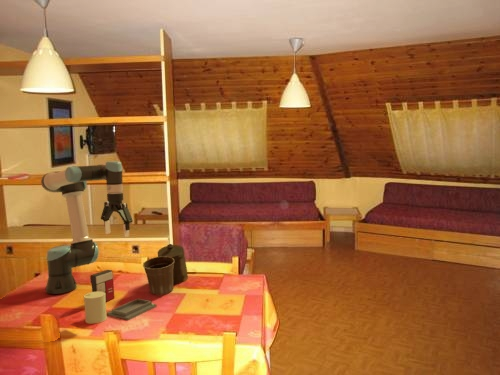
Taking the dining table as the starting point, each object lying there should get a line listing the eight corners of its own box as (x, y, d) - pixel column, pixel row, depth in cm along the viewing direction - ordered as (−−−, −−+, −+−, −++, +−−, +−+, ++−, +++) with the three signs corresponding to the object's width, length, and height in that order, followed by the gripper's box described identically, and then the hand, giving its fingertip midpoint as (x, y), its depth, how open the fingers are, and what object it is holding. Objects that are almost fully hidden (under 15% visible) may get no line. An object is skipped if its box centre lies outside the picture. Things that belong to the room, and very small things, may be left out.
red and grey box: (97, 306, 203) (95, 276, 202) (92, 304, 206) (90, 275, 204) (115, 298, 213) (113, 270, 211) (109, 297, 215) (108, 269, 214)
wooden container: (181, 269, 246) (177, 236, 239) (191, 280, 234) (187, 245, 227) (158, 277, 239) (152, 243, 232) (167, 289, 227) (161, 253, 220)
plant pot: (149, 300, 210) (146, 271, 207) (143, 288, 225) (139, 260, 221) (180, 292, 217) (178, 264, 214) (172, 281, 232) (169, 254, 228)
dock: (106, 314, 192) (106, 309, 192) (135, 301, 207) (135, 297, 207) (128, 320, 185) (127, 314, 185) (156, 306, 200) (156, 301, 200)
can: (88, 316, 191) (87, 290, 190) (109, 314, 192) (107, 289, 191) (82, 324, 182) (80, 297, 181) (104, 323, 183) (102, 296, 182)
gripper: (92, 192, 207) (94, 233, 210) (126, 195, 194) (128, 239, 197) (104, 190, 214) (106, 231, 216) (138, 193, 201) (140, 236, 203)
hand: (117, 235), depth 206 cm, fingers open, 13 cm apart
